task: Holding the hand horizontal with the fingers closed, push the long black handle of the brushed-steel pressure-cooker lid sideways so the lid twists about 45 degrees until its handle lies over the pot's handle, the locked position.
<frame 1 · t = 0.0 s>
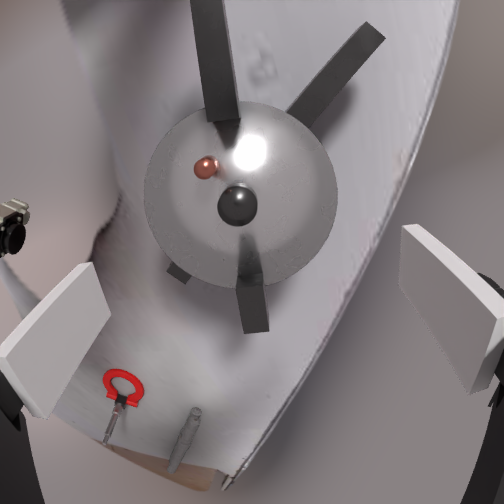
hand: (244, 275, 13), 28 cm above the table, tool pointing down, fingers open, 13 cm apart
pneumatic valve: (21, 207, 41), on the table
pot: (245, 175, 39), on the table
lid: (228, 138, 25), point 13 cm above the table, hinge at 0.0°
metal rod assembly: (184, 435, 61), on the table
tow hook: (124, 384, 55), on the table
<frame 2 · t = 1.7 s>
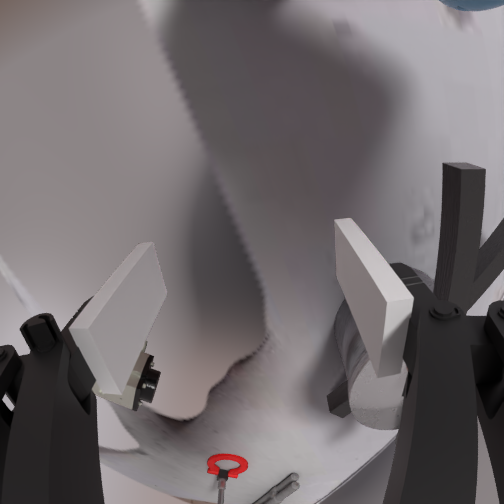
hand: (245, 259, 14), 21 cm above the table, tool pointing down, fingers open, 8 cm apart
pneumatic valve: (132, 331, 43), on the table
pot: (390, 319, 41), on the table
lid: (436, 350, 26), point 13 cm above the table, hinge at 0.0°
metal rod assembly: (271, 490, 63), on the table
tow hook: (227, 462, 57), on the table
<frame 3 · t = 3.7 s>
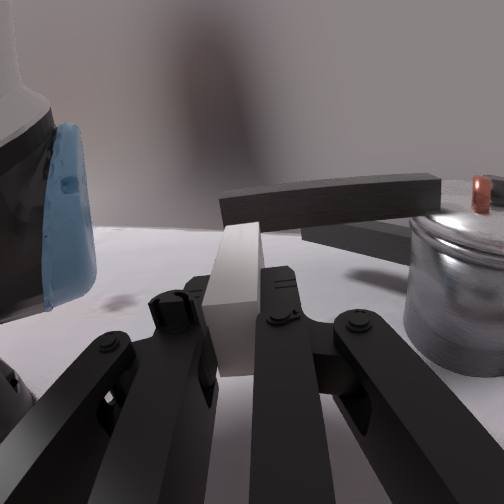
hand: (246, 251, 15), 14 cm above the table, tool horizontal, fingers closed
pot: (474, 321, 26), on the table
lid: (448, 197, 21), point 13 cm above the table, hinge at 0.0°
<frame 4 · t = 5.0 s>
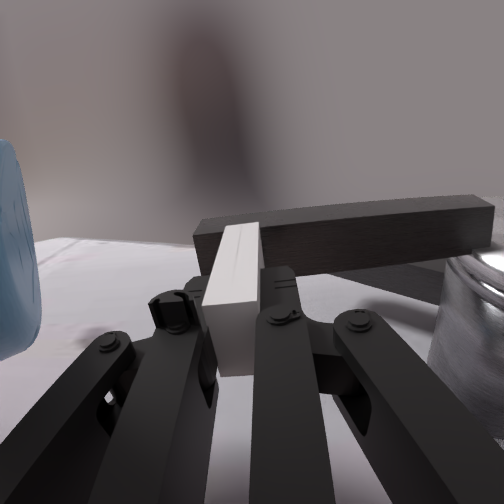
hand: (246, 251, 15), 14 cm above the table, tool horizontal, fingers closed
lid: (498, 226, 15), point 13 cm above the table, hinge at 1.6°, touching gripper
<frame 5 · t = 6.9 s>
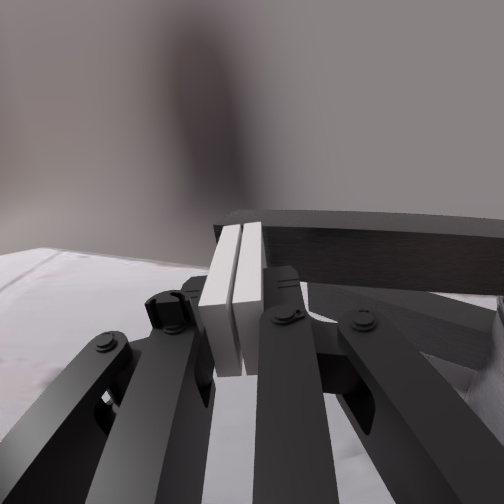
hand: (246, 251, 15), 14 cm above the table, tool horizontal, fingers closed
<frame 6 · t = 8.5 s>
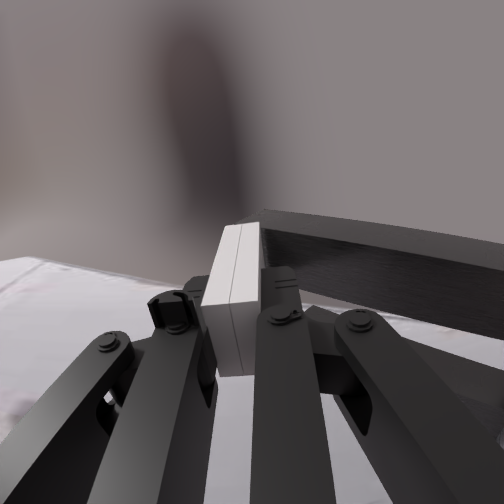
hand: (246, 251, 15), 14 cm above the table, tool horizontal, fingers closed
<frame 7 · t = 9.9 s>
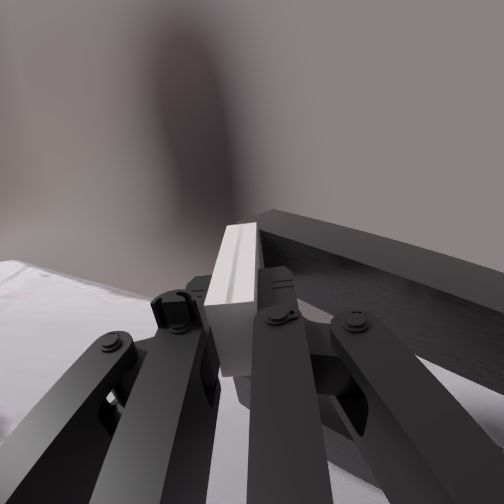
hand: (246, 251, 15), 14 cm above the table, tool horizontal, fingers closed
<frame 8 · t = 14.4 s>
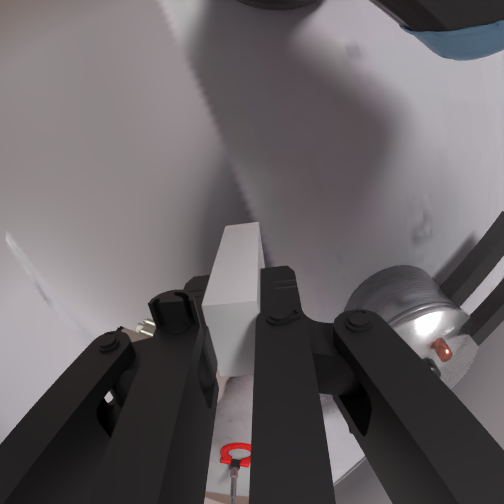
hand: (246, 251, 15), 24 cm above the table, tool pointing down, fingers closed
pneumatic valve: (156, 326, 47), on the table
pot: (392, 312, 45), on the table
lid: (459, 341, 31), point 13 cm above the table, hinge at 46.9°
tow hook: (239, 451, 61), on the table
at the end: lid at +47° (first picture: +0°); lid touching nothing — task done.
